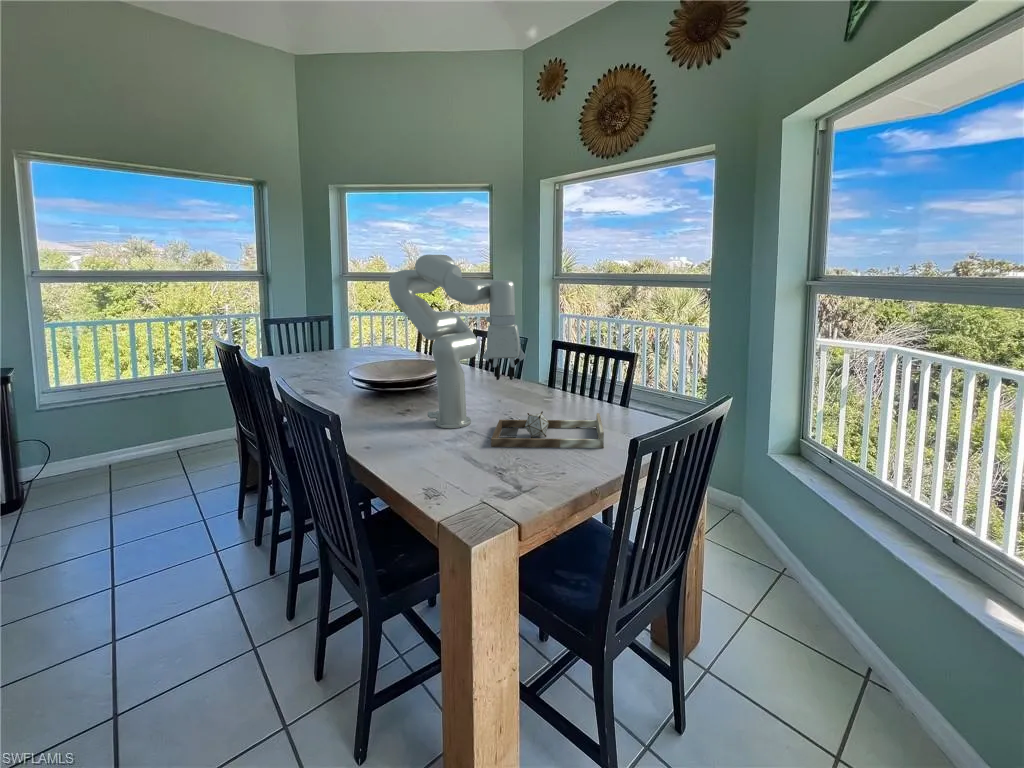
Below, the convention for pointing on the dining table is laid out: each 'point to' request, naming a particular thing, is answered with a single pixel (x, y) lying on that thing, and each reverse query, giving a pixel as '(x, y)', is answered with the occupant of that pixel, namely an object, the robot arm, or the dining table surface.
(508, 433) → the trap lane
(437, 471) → the dining table surface
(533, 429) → the game die
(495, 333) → the robot arm
